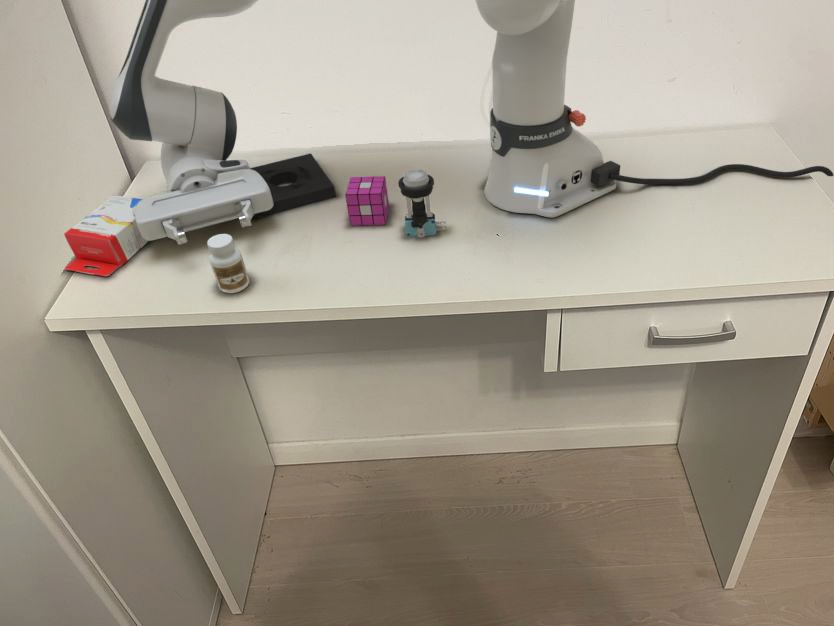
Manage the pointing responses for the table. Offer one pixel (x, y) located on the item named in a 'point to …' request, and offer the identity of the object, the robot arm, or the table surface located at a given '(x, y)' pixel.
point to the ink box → (105, 237)
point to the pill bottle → (227, 264)
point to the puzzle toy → (367, 200)
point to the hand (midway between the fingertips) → (214, 231)
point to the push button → (419, 204)
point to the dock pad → (295, 183)
